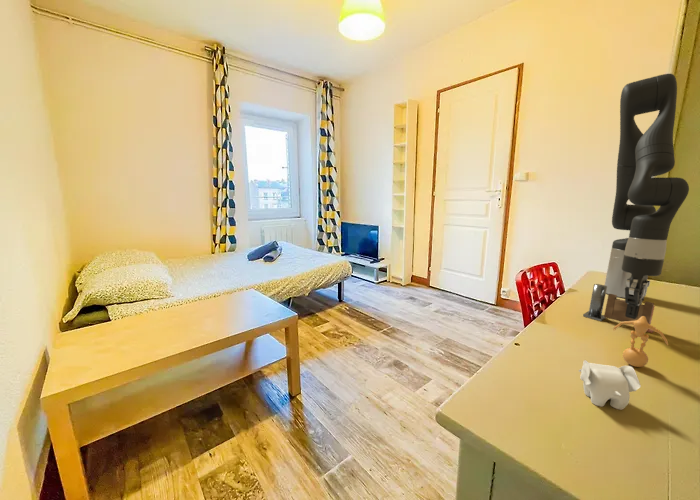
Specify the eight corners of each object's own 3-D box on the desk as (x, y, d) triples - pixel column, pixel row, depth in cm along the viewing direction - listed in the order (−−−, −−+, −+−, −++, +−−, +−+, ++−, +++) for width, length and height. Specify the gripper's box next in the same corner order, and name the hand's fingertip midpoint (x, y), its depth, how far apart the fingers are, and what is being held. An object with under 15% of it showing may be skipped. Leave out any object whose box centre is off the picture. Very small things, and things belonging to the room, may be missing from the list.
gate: (603, 317, 86) (608, 294, 85) (605, 315, 87) (609, 293, 86) (647, 328, 79) (653, 304, 78) (648, 327, 80) (654, 303, 79)
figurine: (661, 371, 62) (674, 318, 59) (658, 382, 58) (672, 326, 56) (610, 354, 68) (620, 305, 66) (604, 363, 64) (615, 312, 62)
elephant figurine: (608, 384, 57) (615, 351, 56) (643, 421, 48) (653, 382, 47) (564, 378, 59) (570, 345, 58) (589, 411, 50) (597, 374, 48)
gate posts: (589, 311, 93) (595, 281, 91) (655, 329, 81) (663, 295, 79) (583, 316, 89) (588, 284, 87) (650, 335, 78) (658, 299, 76)
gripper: (630, 251, 84) (619, 308, 87) (617, 255, 76) (606, 318, 79) (669, 255, 78) (655, 317, 81) (659, 260, 70) (644, 328, 73)
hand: (630, 317), depth 80 cm, fingers closed
